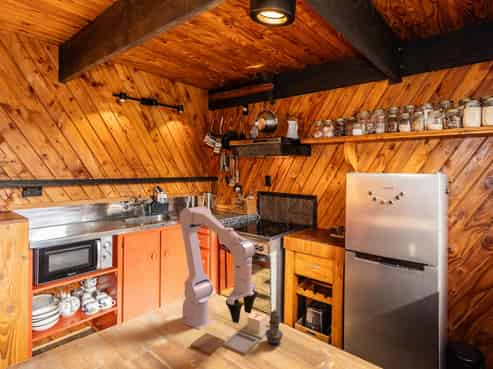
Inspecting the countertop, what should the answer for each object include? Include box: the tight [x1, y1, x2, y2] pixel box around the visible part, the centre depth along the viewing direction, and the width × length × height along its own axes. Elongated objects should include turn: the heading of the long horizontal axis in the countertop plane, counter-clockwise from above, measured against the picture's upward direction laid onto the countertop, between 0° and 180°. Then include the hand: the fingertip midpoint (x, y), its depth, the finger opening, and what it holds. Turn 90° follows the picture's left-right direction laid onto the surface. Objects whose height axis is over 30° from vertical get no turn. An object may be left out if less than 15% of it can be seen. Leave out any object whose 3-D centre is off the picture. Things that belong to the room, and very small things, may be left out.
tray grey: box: [222, 330, 261, 356], centre depth 99 cm, size 9×9×1 cm
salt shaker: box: [265, 308, 283, 348], centre depth 100 cm, size 6×6×12 cm
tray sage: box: [239, 322, 270, 340], centre depth 108 cm, size 9×9×1 cm
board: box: [190, 332, 226, 356], centre depth 98 cm, size 8×8×1 cm
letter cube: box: [247, 311, 267, 335], centre depth 108 cm, size 5×5×5 cm
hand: (241, 317), depth 99 cm, fingers open, 7 cm apart
